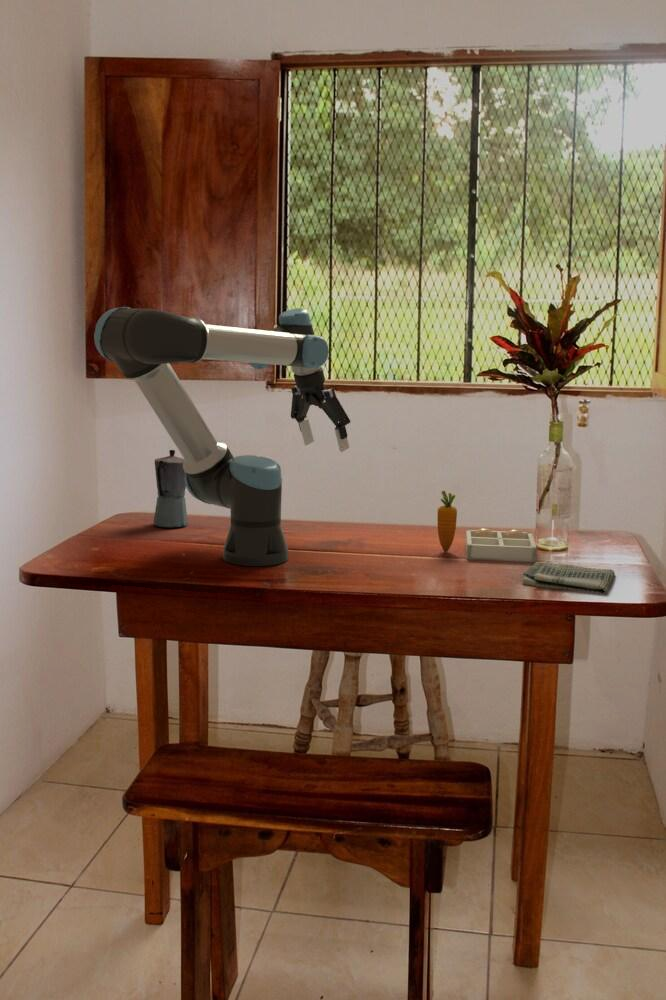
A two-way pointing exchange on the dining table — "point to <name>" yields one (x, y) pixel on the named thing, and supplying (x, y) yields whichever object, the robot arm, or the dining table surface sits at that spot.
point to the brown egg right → (515, 534)
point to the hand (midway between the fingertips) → (326, 446)
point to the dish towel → (569, 577)
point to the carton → (500, 547)
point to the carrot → (446, 521)
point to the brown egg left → (484, 533)
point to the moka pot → (170, 492)
